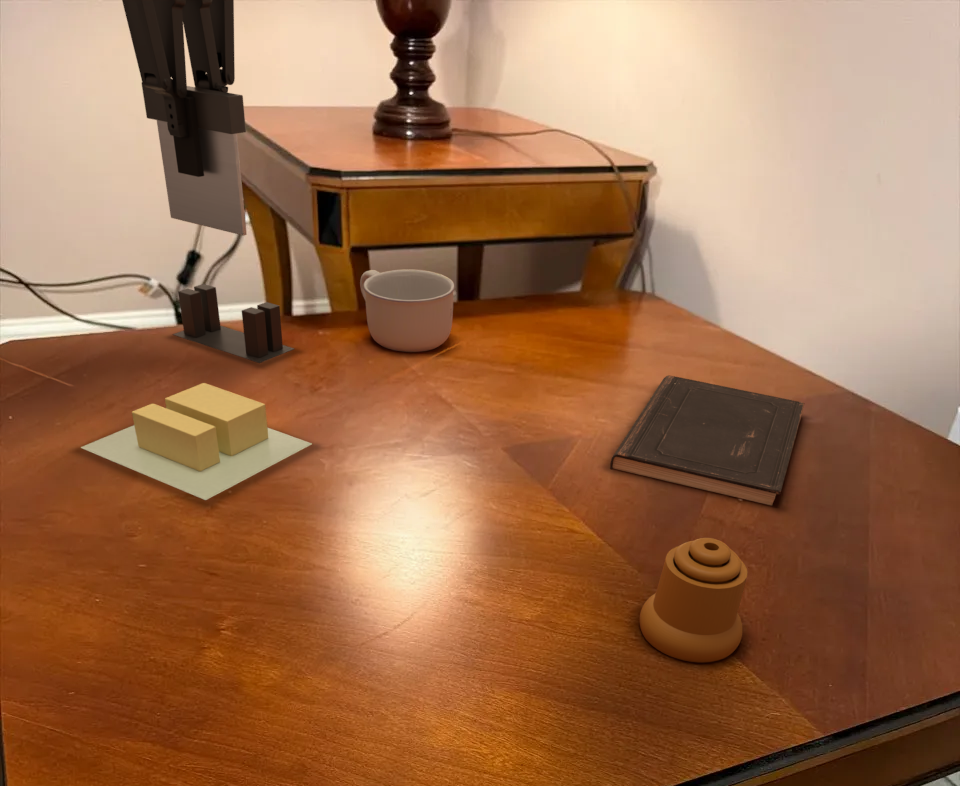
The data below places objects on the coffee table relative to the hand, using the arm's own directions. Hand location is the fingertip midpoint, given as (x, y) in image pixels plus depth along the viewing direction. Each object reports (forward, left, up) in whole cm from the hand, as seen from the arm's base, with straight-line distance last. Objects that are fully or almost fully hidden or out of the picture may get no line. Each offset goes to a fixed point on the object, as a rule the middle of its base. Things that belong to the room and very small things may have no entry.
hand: (201, 171), depth 86 cm
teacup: (+10, +21, -21) cm, 31 cm away
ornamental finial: (+62, -15, -21) cm, 67 cm away
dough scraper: (0, 0, -5) cm, 5 cm away
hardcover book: (+52, +18, -21) cm, 58 cm away
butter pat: (+13, -18, -19) cm, 30 cm away
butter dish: (+13, -16, -20) cm, 29 cm away
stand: (-4, +6, -20) cm, 22 cm away
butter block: (+13, -13, -19) cm, 27 cm away
